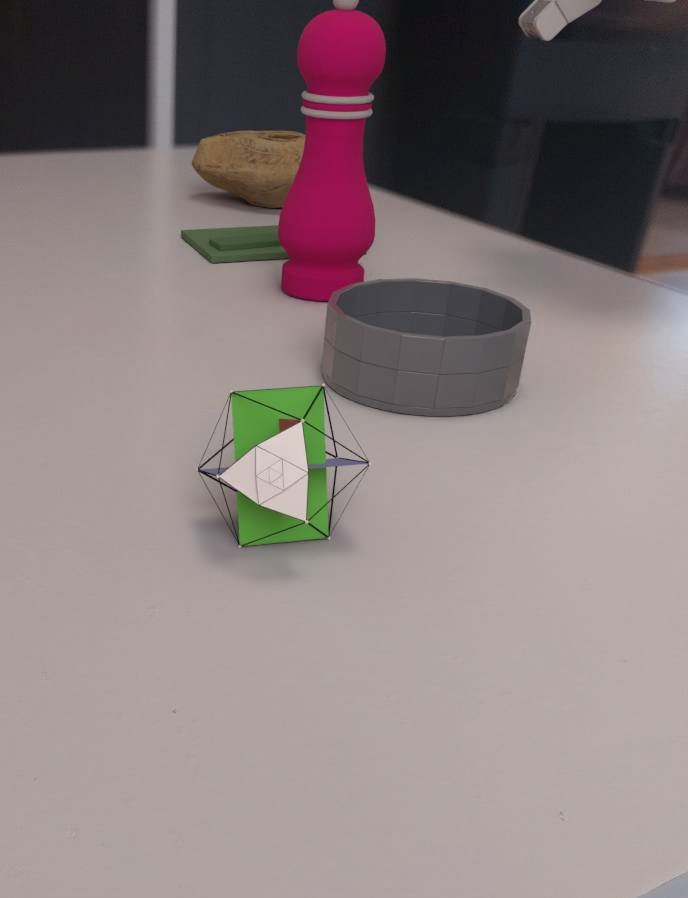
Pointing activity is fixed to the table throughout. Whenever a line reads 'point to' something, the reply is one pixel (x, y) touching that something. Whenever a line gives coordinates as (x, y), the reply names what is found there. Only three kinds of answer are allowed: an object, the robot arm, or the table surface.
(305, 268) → the pepper mill
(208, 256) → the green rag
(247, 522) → the geometric puzzle
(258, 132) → the oil lamp
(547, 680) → the table surface
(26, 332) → the table surface
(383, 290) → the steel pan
